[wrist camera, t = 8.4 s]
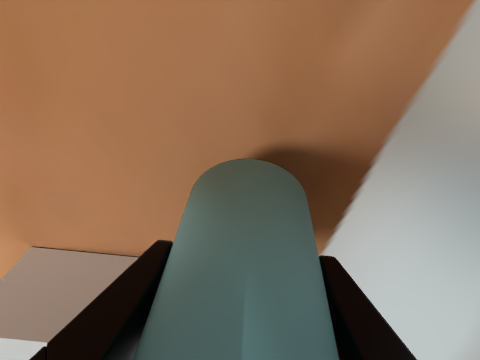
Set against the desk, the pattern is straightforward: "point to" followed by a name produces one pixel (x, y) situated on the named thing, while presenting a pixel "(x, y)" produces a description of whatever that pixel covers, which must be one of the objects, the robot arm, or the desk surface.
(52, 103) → the desk surface
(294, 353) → the peg
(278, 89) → the desk surface
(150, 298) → the robot arm
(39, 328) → the socket
